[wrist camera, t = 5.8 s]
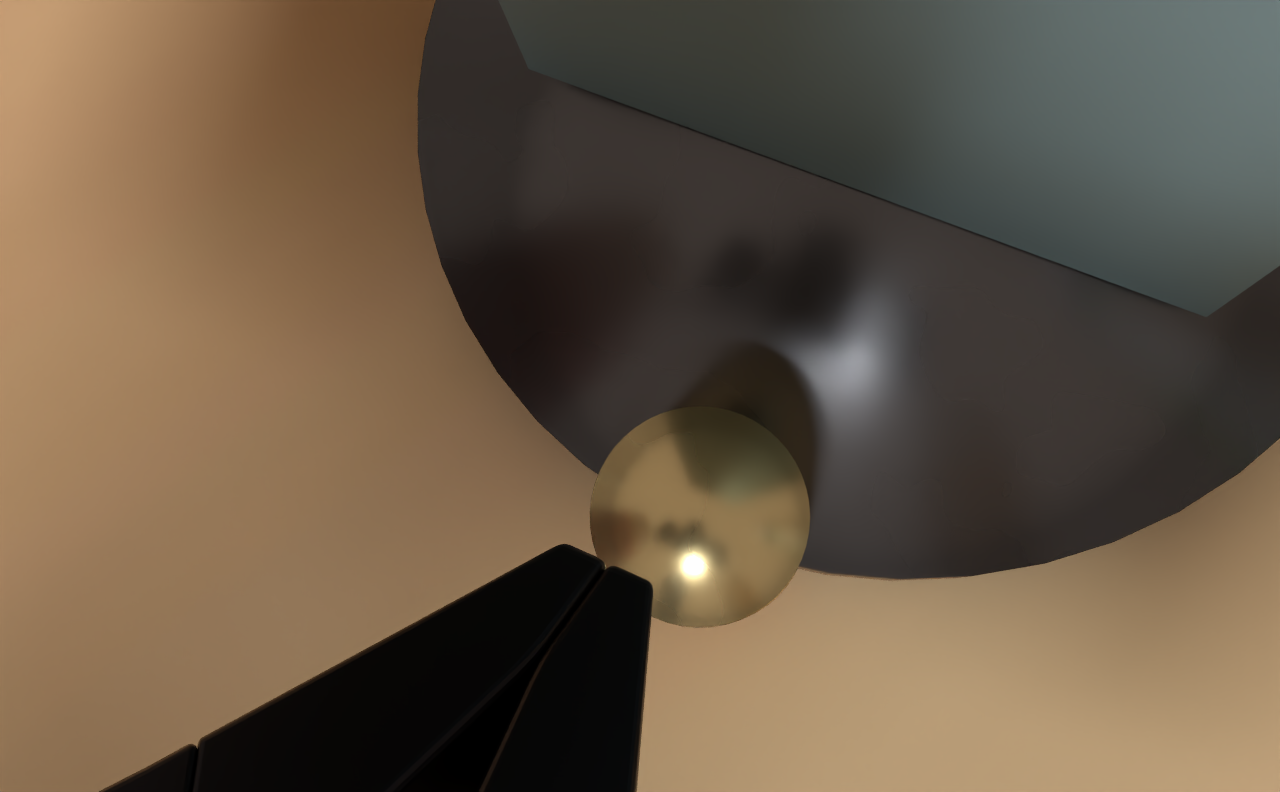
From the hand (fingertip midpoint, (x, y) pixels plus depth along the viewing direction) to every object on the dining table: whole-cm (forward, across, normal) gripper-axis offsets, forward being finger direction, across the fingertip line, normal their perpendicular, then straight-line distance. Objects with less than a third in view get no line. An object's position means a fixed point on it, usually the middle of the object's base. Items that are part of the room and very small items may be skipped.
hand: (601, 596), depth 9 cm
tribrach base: (+11, 0, -1) cm, 11 cm away
